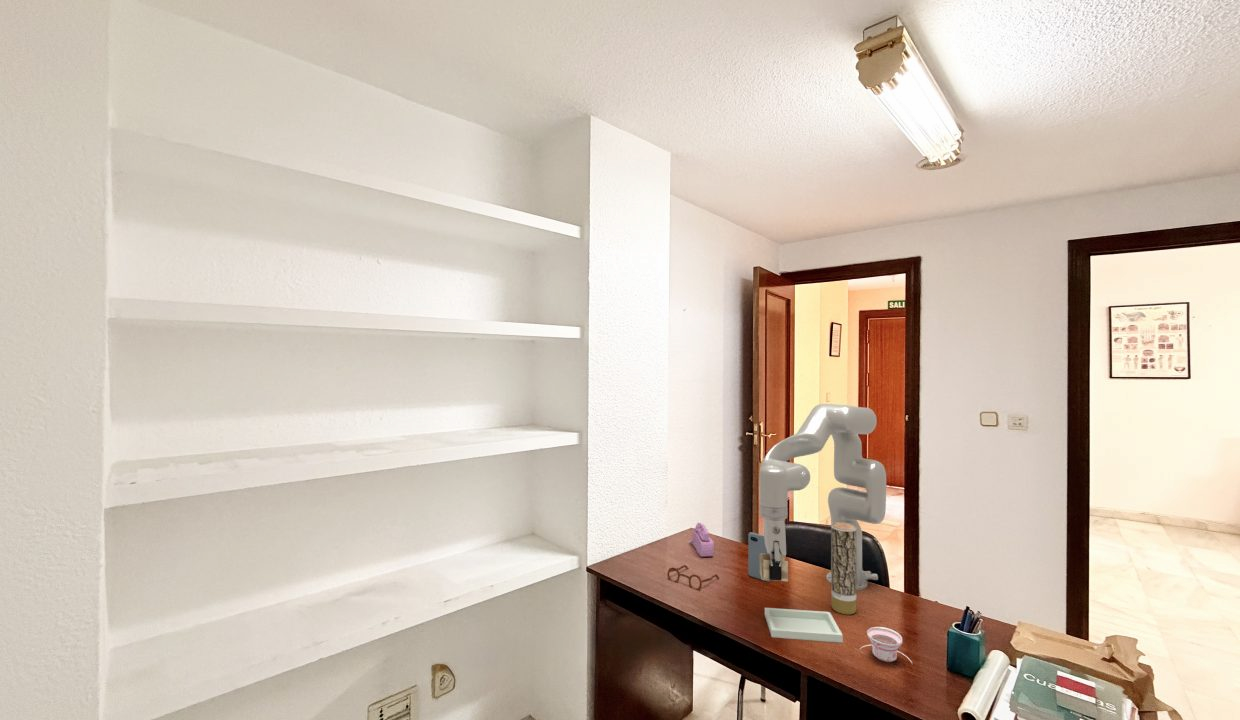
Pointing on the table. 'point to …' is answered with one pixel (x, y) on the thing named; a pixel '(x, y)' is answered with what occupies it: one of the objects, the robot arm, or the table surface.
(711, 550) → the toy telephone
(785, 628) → the tray
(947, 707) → the table surface
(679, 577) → the glasses
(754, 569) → the smartphone
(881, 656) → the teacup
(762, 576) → the beige open holder
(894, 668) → the table surface
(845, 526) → the paper tube
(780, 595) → the table surface
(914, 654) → the table surface
